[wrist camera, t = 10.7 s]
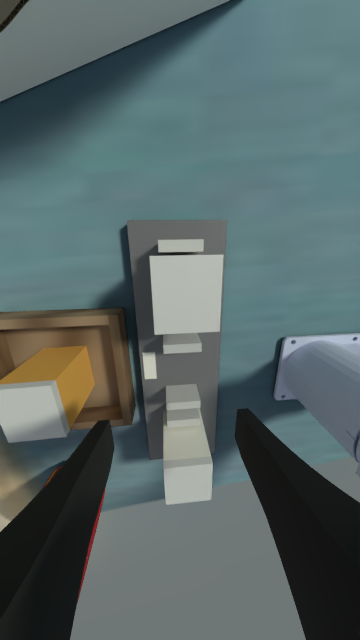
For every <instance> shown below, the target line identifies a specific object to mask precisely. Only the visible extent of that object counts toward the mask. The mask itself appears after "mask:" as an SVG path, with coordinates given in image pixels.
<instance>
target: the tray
mask: <svg viewBox="0 0 360 640" xmlns="http://www.w3.org/2000/svg"><path fill="white" fill-rule="evenodd" d="M74 346H86V347H87V351H88V356H89V361H90V365H91V370H92V374H93V379H94V384H95V385H94V387H93V389H92V391H91V393H90V395H89V396H88V398H87V400H86V402H85V404H84V406H83V407H82V409H81V411H80V413H79V415H78V416H77V418H76V420H75V422H74V424H73V426H72V427H71V429H70V430H77V429H89V428H93V426H94V425H95V424H96V422H97V421H99V420H110V425H111V427H113V426H125V425H132V421H133V416H134V411H135V399H134V391H133V382H132V373H131V365H130V356H129V347H128V339H127V330H126V321H125V313H124V308H99V309H73V310H47V311H20V312H0V380H1V379H3V378H4V377H5V376H7V375H8V374H9V373H11V372H12V371H13V370H15V369H16V368H18V367H19V366H20V365H22V364H23V363H24V362H26V361H27V360H28V359H30V358H31V357H32V356H34V355H35V354H36V353H38V352H39V351H40V350H42V349H46V348H60V347H74Z"/></svg>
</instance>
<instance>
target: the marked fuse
mask: <svg viewBox="0 0 360 640" xmlns="http://www.w3.org/2000/svg"><path fill="white" fill-rule="evenodd" d="M94 385H95V384H94V379H93V374H92V370H91V365H90V361H89V356H88V351H87V347H86V346H74V347H60V348H46V349H42V350H40V351H39V352H38V353H36V354H35V355H34V356H32V357H31V358H30V359H28V360H27V361H26V362H24V363H23V364H22V365H20V366H19V367H18V368H16V369H15V370H13V371H12V372H11V373H9V374H8V375H7V376H5V377H4V378H3V379H1V380H0V425H1V427H2V429H3V431H4V434H5V436H6V438H7V441H8V443H13V442H23V441H33V440H42V439H52V438H62V437H67V435H68V433H69V431H70V429H71V427H72V426H73V424H74V422H75V420H76V418H77V416H78V415H79V413H80V411H81V409H82V407H83V406H84V404H85V402H86V400H87V398H88V396H89V395H90V393H91V391H92V389H93V387H94Z"/></svg>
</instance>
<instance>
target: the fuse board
mask: <svg viewBox="0 0 360 640" xmlns="http://www.w3.org/2000/svg"><path fill="white" fill-rule="evenodd" d="M127 229H128V240H129V250H130V260H131V271H132V281H133V291H134V302H135V312H136V323H137V333H138V343H139V354H140V364H141V375H142V385H143V395H144V406H145V416H146V427H147V437H148V447H149V458H150V460H152V459H163V411H166V410H167V428H170V427H181V426H193V425H200V415H199V411H198V408H200V412H201V416H202V420H203V425H204V429H205V433H206V437H207V441H208V445H209V449H210V454H214V453H215V436H216V417H217V398H218V379H219V361H220V342H221V323H222V305H223V286H224V267H225V249H226V230H227V220H127ZM174 255H224V256H223V276H222V296H221V315H220V332H201V333H181V334H160V335H155V333H154V318H153V302H152V287H151V272H150V257H149V256H174Z"/></svg>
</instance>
